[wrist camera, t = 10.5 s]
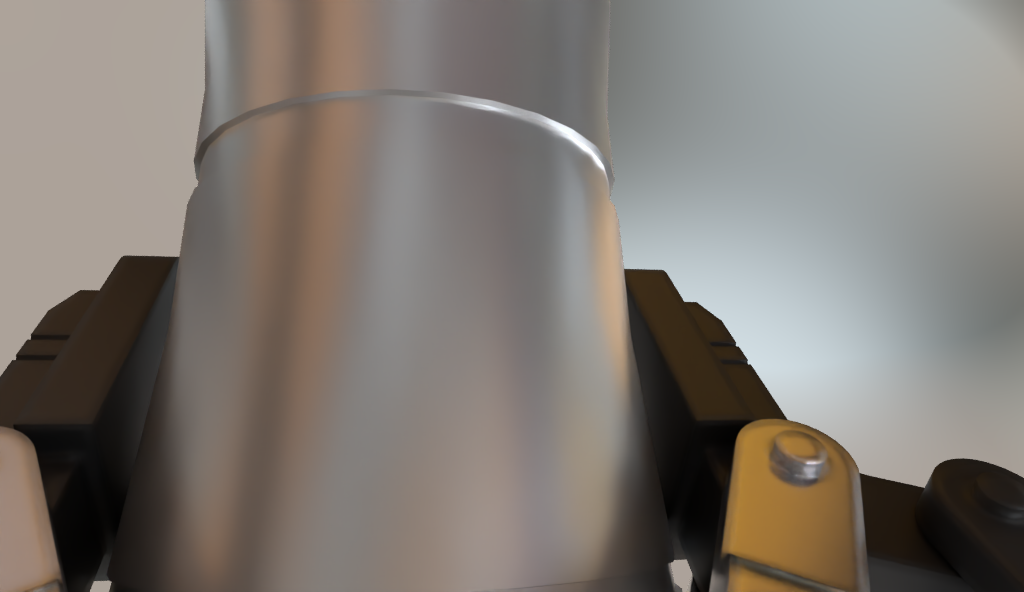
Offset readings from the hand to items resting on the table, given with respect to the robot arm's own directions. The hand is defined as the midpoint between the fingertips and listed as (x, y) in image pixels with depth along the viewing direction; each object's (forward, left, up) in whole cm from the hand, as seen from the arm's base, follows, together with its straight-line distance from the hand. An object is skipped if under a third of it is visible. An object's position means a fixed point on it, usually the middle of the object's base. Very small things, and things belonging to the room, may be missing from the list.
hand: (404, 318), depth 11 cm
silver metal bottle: (-1, +1, -11) cm, 11 cm away
